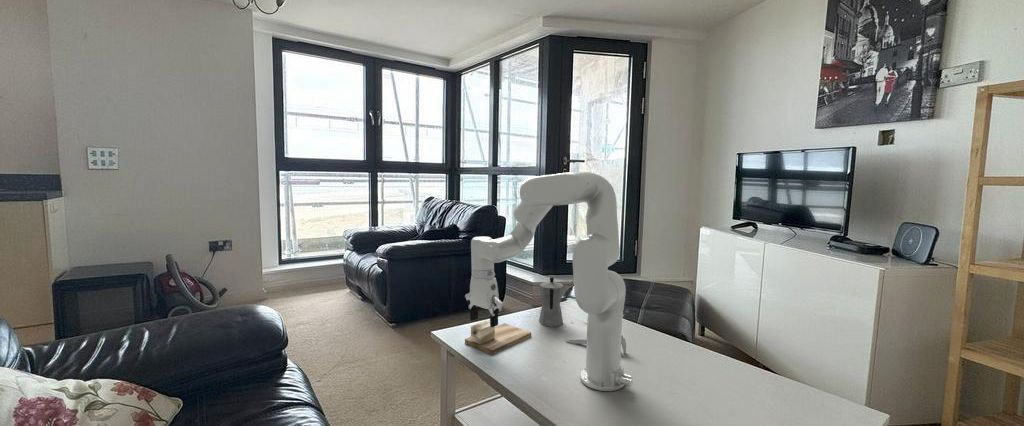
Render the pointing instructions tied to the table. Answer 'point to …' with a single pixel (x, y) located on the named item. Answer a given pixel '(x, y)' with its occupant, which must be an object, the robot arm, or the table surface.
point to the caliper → (584, 341)
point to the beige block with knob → (482, 332)
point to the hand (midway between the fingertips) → (484, 322)
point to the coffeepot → (551, 303)
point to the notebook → (501, 339)
